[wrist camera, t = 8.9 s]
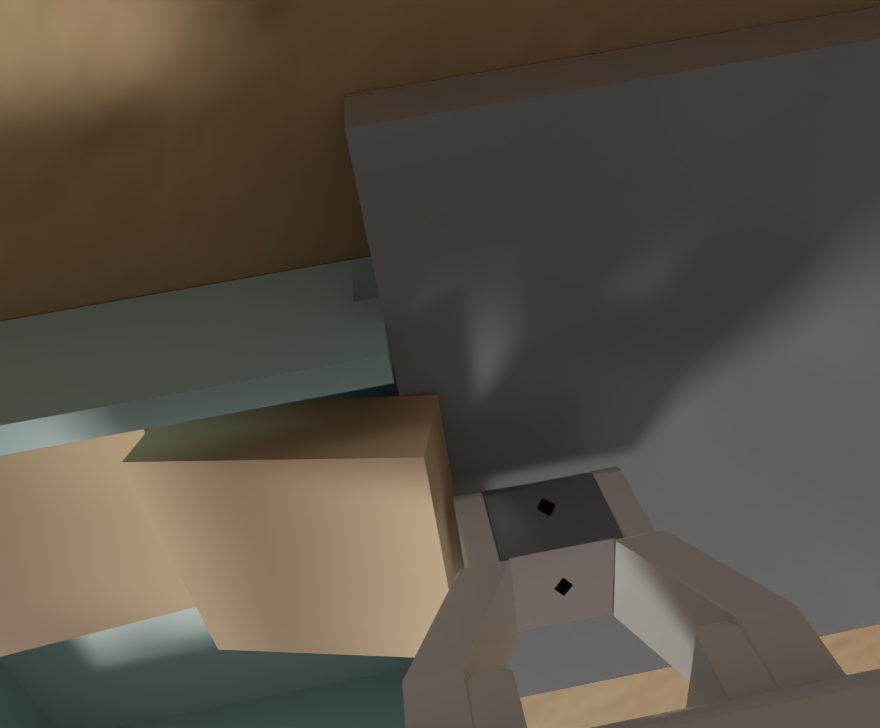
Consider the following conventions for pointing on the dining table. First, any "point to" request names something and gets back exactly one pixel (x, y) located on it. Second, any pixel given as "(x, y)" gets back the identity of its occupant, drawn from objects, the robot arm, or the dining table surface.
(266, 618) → the oak tile
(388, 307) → the slate board
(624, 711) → the dining table surface
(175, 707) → the tray
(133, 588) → the oak tile
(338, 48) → the dining table surface
